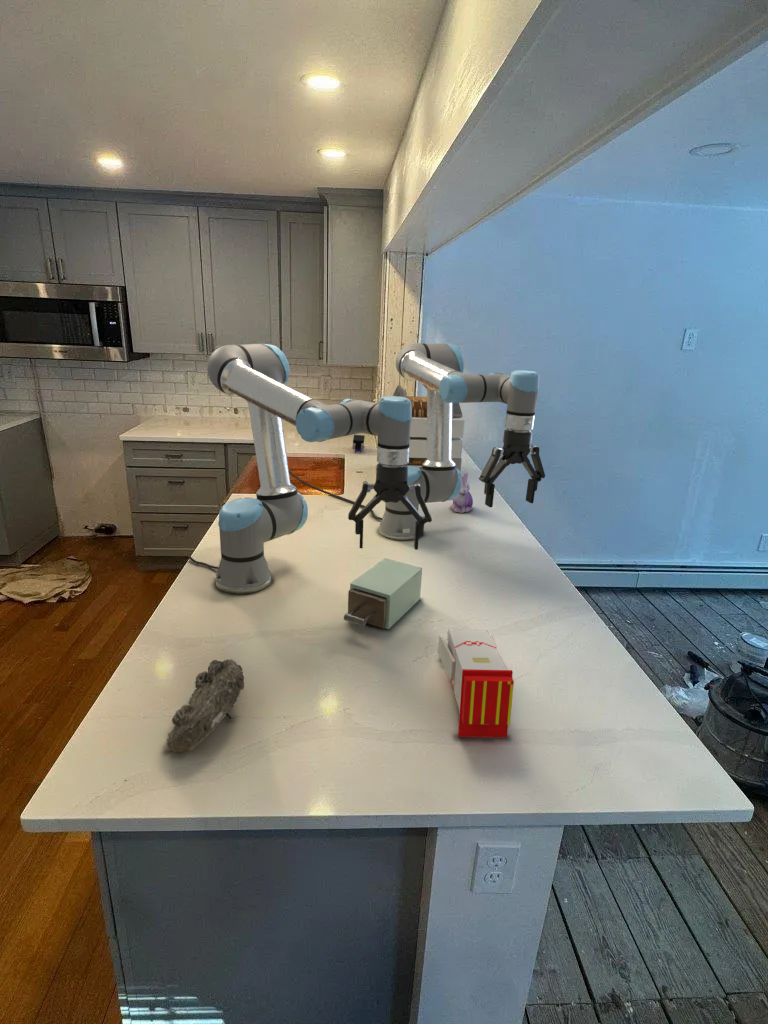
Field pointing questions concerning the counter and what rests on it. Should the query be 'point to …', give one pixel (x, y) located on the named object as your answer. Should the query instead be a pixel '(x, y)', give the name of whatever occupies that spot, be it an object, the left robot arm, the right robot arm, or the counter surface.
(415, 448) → the white storage organizer
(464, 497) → the figurine
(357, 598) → the drawer
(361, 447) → the figurine character
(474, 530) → the counter surface
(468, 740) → the counter surface
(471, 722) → the toy
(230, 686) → the fossil
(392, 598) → the cabinet
